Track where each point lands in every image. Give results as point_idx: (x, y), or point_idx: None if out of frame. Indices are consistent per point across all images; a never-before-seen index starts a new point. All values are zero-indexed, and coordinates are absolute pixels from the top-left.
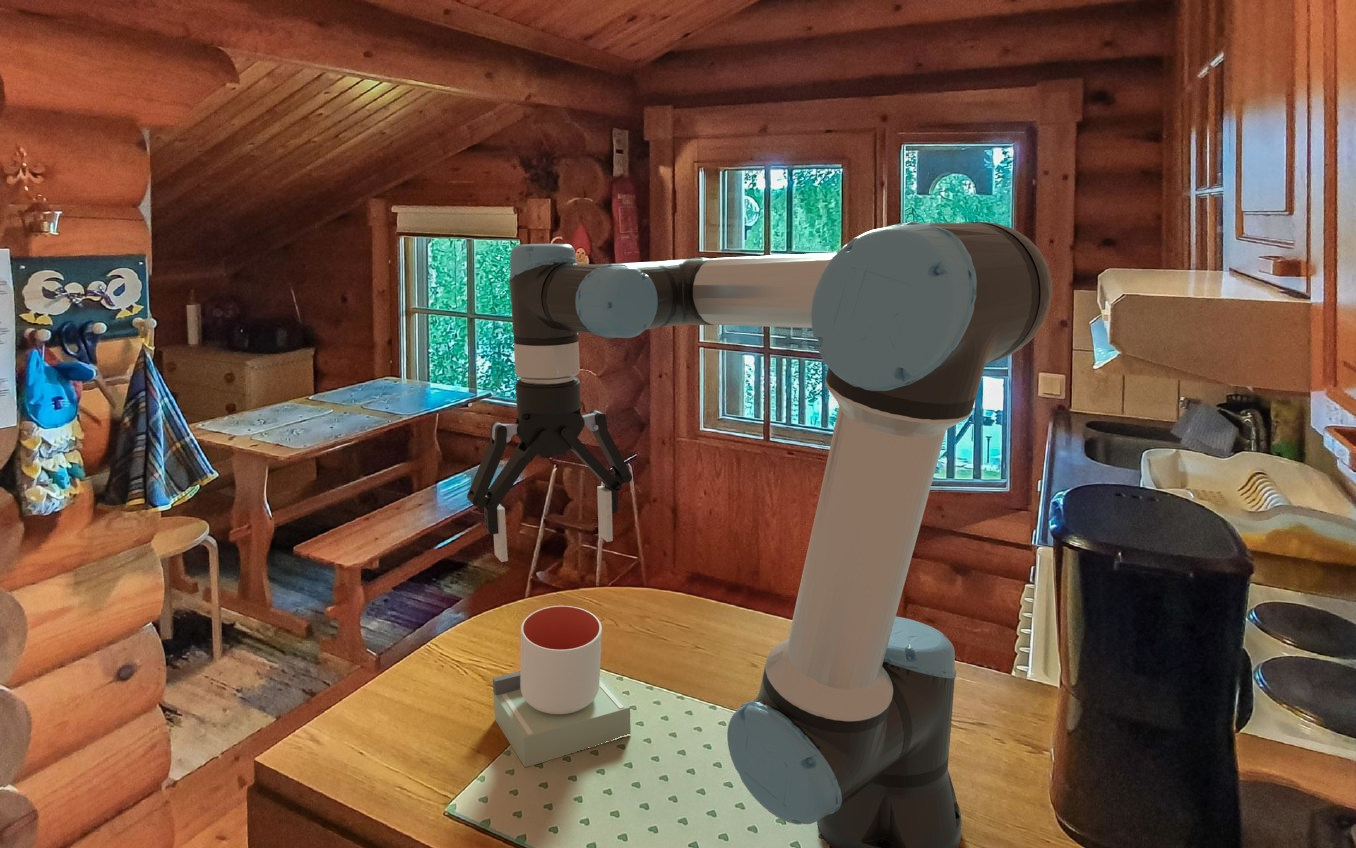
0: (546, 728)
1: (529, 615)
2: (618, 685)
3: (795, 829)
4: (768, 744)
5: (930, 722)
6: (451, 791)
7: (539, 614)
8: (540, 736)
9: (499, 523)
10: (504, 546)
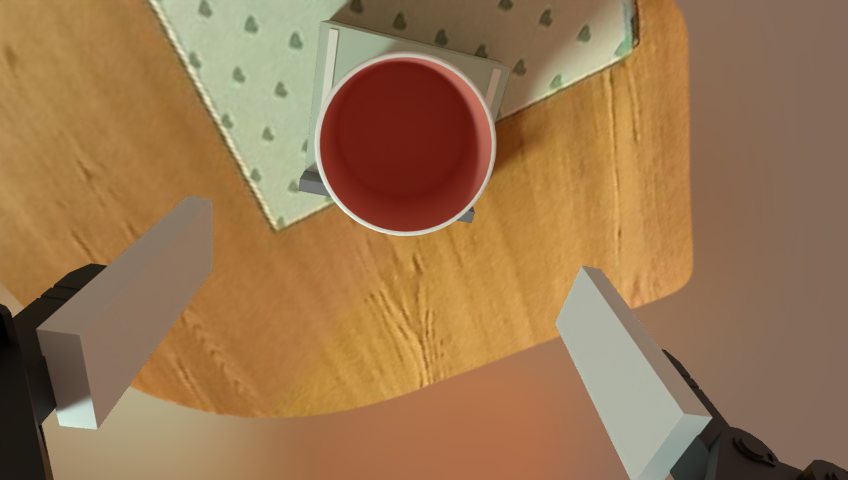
0: (469, 66)
1: (439, 227)
2: (268, 160)
3: None
4: None
5: None
6: (601, 83)
7: (411, 228)
8: (482, 60)
9: (671, 365)
10: (611, 296)
